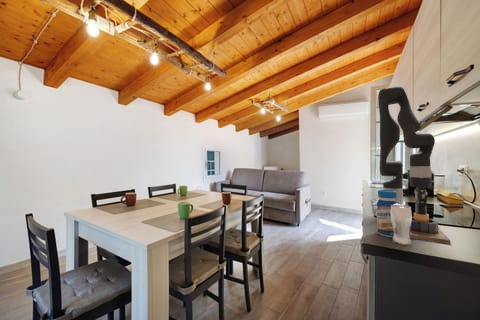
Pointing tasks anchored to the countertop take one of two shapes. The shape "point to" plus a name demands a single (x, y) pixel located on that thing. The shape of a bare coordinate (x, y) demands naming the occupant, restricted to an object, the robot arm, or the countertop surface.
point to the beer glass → (401, 223)
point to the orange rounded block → (421, 217)
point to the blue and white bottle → (385, 212)
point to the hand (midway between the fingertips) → (421, 213)
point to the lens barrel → (425, 226)
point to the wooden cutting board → (431, 236)
